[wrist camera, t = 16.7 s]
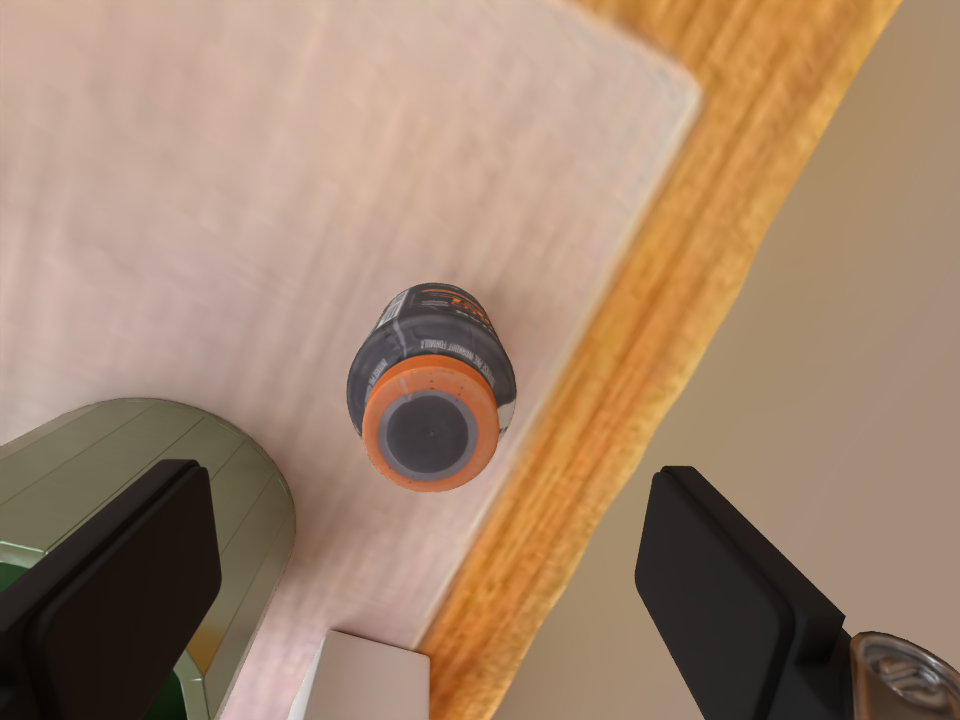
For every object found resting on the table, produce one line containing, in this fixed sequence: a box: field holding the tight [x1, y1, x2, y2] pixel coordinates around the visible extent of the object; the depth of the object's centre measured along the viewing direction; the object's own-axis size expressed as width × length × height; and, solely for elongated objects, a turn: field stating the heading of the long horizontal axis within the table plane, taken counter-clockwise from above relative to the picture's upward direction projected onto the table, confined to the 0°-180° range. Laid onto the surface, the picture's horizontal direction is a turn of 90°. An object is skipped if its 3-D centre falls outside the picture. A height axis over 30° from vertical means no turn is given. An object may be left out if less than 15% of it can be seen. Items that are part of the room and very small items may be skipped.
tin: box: [0, 398, 296, 720], centre depth 20 cm, size 15×15×10 cm
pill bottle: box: [347, 283, 517, 492], centre depth 18 cm, size 6×6×11 cm
